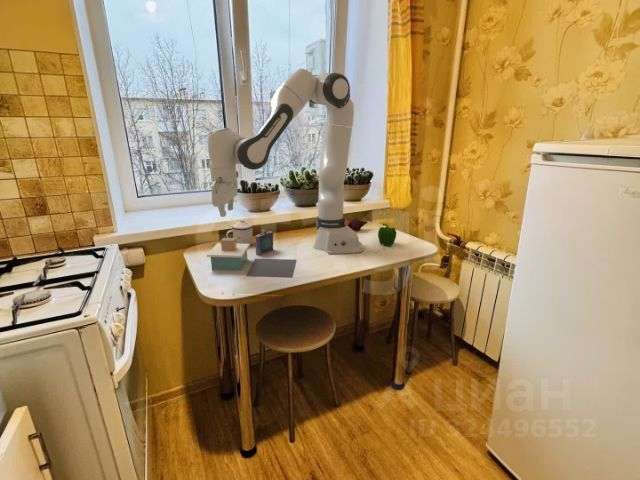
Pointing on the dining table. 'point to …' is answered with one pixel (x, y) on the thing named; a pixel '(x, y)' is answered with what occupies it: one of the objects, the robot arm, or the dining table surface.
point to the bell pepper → (386, 235)
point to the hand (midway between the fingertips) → (227, 213)
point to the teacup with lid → (242, 232)
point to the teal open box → (228, 263)
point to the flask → (264, 242)
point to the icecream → (356, 224)
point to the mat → (272, 268)
